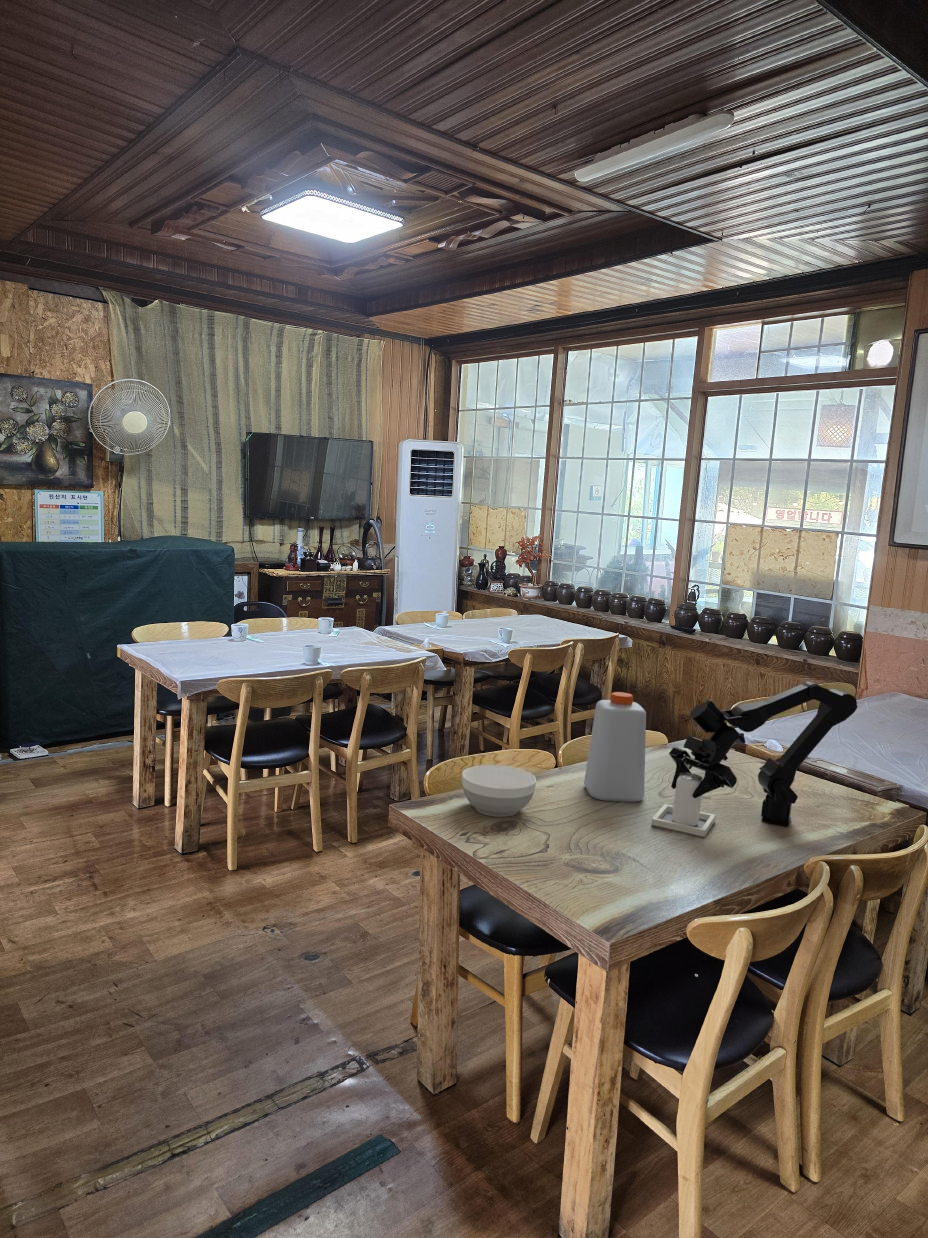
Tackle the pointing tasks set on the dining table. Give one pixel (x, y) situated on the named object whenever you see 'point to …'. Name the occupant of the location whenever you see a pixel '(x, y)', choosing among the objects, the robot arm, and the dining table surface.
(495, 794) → the bowl
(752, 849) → the dining table surface
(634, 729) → the plastic bottle
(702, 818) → the square tray
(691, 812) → the can
